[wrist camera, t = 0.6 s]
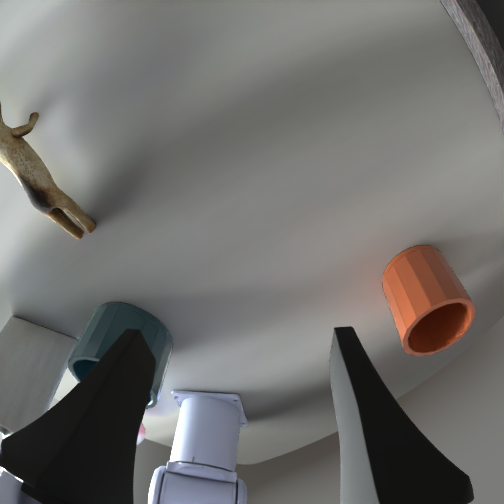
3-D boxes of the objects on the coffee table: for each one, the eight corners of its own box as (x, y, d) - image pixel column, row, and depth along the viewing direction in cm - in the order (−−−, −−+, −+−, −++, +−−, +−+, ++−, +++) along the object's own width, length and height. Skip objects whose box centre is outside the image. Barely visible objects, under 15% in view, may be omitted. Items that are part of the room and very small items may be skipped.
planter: (28, 294, 24) (-55, 444, 9) (80, 342, 28) (20, 494, 12) (0, 331, 30) (-53, 433, 15) (38, 364, 34) (-5, 468, 18)
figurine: (113, 201, 20) (-1, 55, 10) (92, 245, 17) (-46, 79, 7) (83, 220, 21) (-24, 89, 11) (62, 262, 18) (-64, 117, 8)
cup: (433, 298, 21) (457, 349, 17) (375, 304, 22) (393, 361, 17) (452, 243, 18) (487, 293, 14) (388, 246, 19) (416, 303, 14)
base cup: (183, 361, 28) (170, 414, 23) (113, 355, 28) (95, 400, 24) (157, 303, 23) (134, 363, 18) (80, 300, 24) (51, 349, 19)
